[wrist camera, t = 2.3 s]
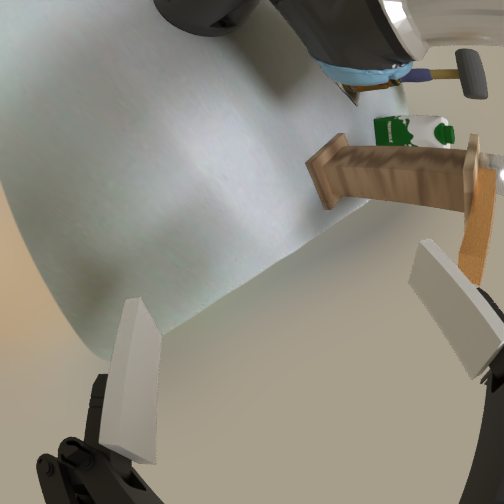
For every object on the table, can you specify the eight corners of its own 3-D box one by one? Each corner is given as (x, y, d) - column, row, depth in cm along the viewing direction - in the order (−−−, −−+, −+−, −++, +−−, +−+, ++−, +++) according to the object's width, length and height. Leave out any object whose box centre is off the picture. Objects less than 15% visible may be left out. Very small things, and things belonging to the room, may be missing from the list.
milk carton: (371, 115, 56) (448, 113, 41) (386, 118, 61) (455, 118, 46) (375, 150, 59) (452, 154, 44) (389, 150, 64) (458, 154, 49)
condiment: (341, 60, 47) (389, 51, 38) (361, 83, 52) (406, 78, 43) (335, 83, 47) (387, 74, 38) (356, 106, 52) (405, 102, 43)
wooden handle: (456, 284, 24) (502, 298, 20) (459, 245, 21) (513, 258, 16) (481, 179, 32) (513, 184, 28) (479, 146, 29) (513, 150, 24)
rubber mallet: (391, 101, 62) (490, 101, 39) (380, 97, 58) (488, 96, 35) (384, 61, 58) (480, 55, 35) (372, 55, 54) (477, 46, 31)
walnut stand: (324, 209, 51) (473, 234, 29) (305, 163, 45) (473, 171, 24) (353, 175, 55) (482, 189, 34) (338, 133, 50) (478, 134, 28)
